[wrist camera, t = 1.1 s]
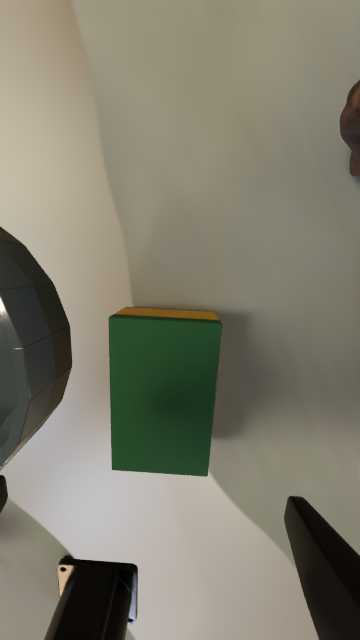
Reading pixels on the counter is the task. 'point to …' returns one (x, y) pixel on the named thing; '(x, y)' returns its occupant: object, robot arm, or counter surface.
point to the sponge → (163, 389)
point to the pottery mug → (352, 127)
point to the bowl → (28, 347)
